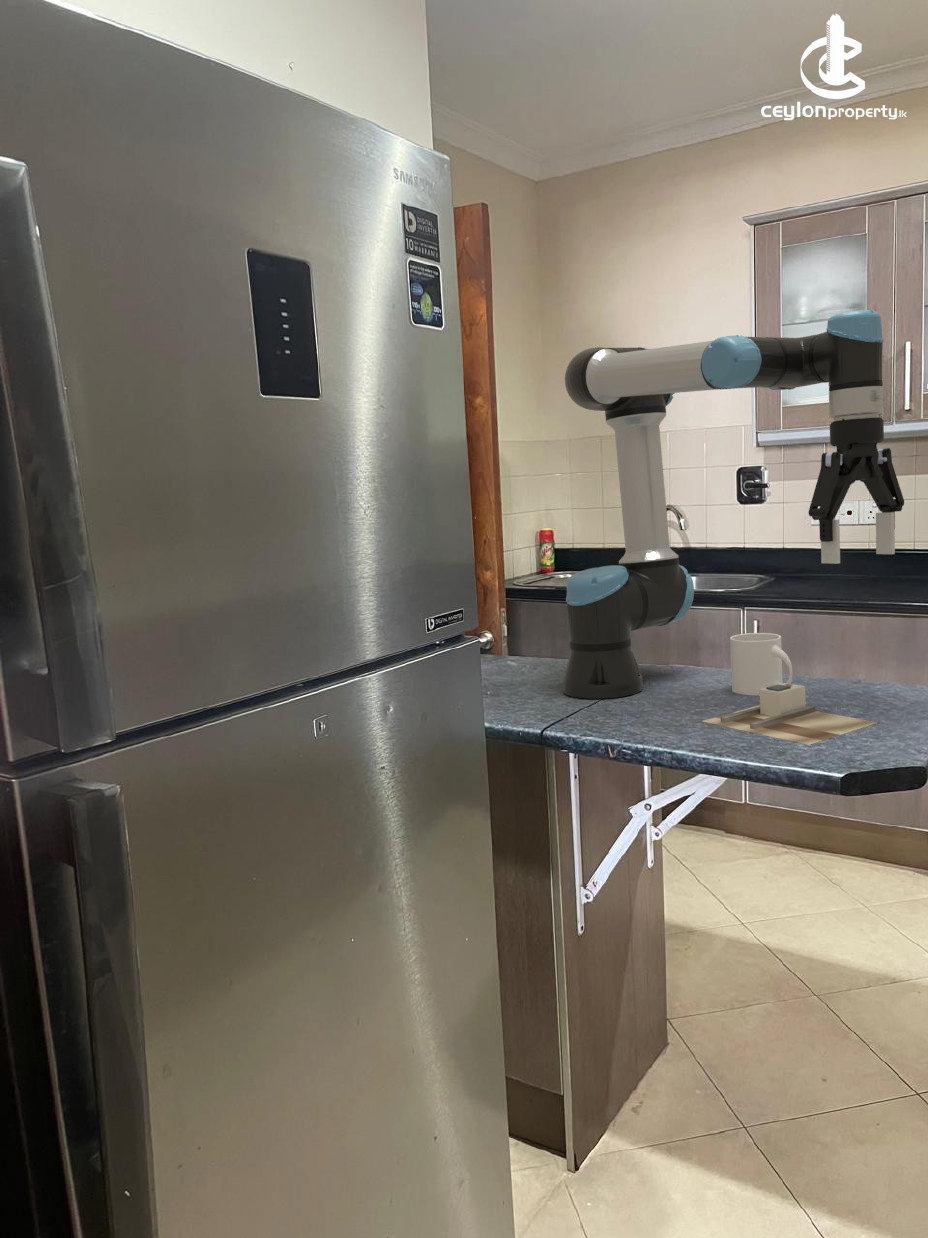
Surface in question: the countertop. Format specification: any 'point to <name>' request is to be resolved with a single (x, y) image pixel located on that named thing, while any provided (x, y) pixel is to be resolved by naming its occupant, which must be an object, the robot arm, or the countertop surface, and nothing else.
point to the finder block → (781, 699)
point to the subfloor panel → (791, 724)
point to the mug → (757, 662)
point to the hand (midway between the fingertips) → (858, 558)
